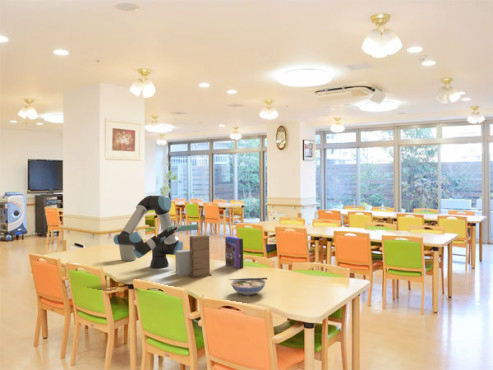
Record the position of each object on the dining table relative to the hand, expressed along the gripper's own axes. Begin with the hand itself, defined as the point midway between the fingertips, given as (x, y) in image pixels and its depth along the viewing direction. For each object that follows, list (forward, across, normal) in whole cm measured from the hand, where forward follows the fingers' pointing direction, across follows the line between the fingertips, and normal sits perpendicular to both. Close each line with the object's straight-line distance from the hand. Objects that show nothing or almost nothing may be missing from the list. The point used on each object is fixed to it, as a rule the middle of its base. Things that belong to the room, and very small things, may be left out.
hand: (178, 224), depth 309 cm
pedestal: (-9, +11, -39) cm, 42 cm away
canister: (-35, -78, -24) cm, 89 cm away
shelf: (-12, 0, -37) cm, 39 cm away
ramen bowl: (-3, +72, -43) cm, 84 cm away
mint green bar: (+1, 0, -6) cm, 6 cm away
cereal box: (+23, -1, -58) cm, 62 cm away
